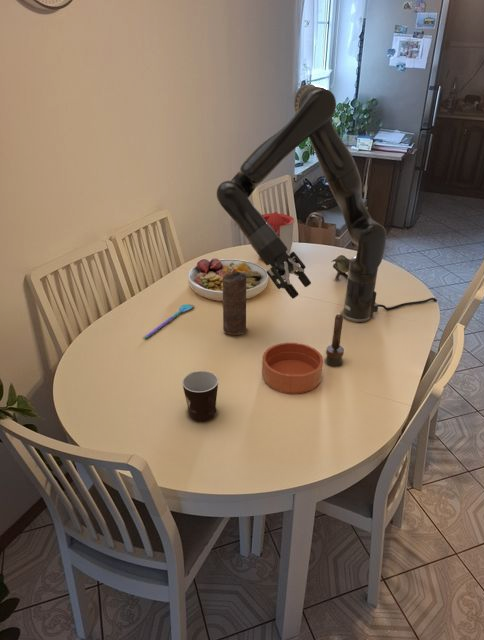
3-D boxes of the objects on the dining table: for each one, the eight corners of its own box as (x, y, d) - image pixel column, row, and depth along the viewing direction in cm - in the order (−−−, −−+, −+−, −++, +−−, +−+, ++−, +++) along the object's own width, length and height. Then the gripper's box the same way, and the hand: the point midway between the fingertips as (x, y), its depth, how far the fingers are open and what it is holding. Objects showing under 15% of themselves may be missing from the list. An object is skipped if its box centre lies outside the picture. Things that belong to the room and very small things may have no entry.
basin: (308, 356, 146) (309, 339, 143) (330, 388, 133) (333, 370, 130) (255, 364, 142) (255, 346, 139) (272, 399, 129) (273, 380, 125)
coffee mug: (185, 402, 126) (183, 371, 121) (219, 401, 127) (218, 370, 122) (183, 433, 117) (180, 401, 111) (219, 432, 117) (218, 399, 112)
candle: (243, 339, 153) (243, 281, 142) (220, 336, 154) (218, 278, 144) (248, 327, 160) (249, 270, 149) (226, 324, 161) (225, 268, 150)
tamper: (337, 356, 146) (344, 309, 138) (345, 365, 142) (351, 317, 134) (322, 358, 145) (327, 311, 137) (329, 368, 141) (335, 319, 133)
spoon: (185, 304, 172) (185, 301, 171) (195, 306, 171) (195, 303, 170) (144, 338, 152) (144, 335, 152) (155, 341, 151) (155, 337, 150)
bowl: (283, 282, 189) (283, 263, 185) (238, 313, 168) (238, 292, 163) (220, 264, 202) (219, 246, 198) (171, 291, 181) (170, 271, 177)
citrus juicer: (251, 265, 203) (252, 217, 192) (259, 249, 217) (259, 204, 206) (289, 268, 201) (292, 220, 190) (294, 252, 215) (296, 207, 204)
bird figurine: (341, 264, 203) (336, 232, 186) (363, 270, 199) (361, 237, 182) (328, 290, 198) (322, 259, 181) (351, 296, 194) (347, 265, 177)
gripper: (264, 244, 128) (301, 294, 130) (287, 229, 139) (321, 275, 140) (246, 259, 133) (282, 307, 135) (270, 243, 143) (303, 287, 145)
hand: (302, 290), depth 137 cm, fingers open, 8 cm apart
